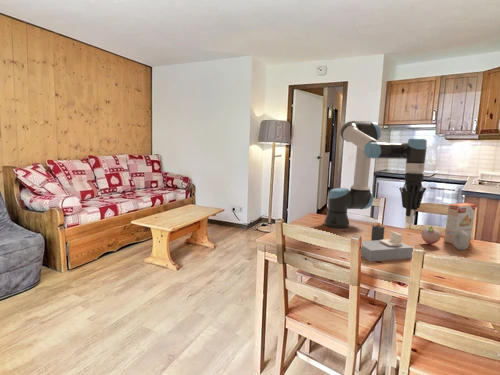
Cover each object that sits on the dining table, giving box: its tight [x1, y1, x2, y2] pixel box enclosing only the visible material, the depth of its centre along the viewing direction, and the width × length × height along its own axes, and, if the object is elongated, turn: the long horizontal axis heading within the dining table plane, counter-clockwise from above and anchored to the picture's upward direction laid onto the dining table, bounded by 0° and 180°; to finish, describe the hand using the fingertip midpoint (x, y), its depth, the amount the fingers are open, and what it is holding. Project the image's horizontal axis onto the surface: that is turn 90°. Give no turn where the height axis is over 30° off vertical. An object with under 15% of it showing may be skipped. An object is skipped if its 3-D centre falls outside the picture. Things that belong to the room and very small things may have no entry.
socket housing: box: [361, 240, 414, 262], centre depth 138 cm, size 12×22×5 cm, turn 104°
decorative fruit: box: [421, 225, 441, 246], centre depth 154 cm, size 9×8×10 cm
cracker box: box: [443, 202, 477, 246], centre depth 159 cm, size 14×6×21 cm, turn 114°
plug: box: [370, 222, 385, 241], centre depth 151 cm, size 4×4×12 cm
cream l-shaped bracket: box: [379, 230, 403, 246], centre depth 139 cm, size 7×7×5 cm
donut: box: [453, 230, 470, 251], centre depth 148 cm, size 10×3×10 cm, turn 174°
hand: (409, 222), depth 140 cm, fingers closed
